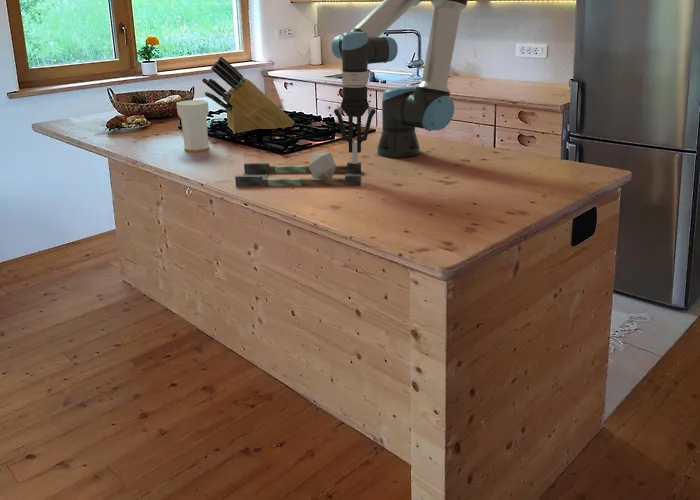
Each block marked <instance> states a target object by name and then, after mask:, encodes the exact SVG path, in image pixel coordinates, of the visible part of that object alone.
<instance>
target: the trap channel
mask: <svg viewBox="0 0 700 500" xmlns="http://www.w3.org/2000/svg"><path fill="white" fill-rule="evenodd" d="M243 167H244V168H243V169H244V171H243V172H244V173H243V174H242V175H235V176H234V181H235V187H360V186H361V179H362V162H361V161H360V162H358V161H357V164H352V161H349V162H347V163H346V164H345V165H341V164H339V165H336V168H335V171H334V173H333V174H335V173H336V174H337V173H340V174H341V173H343V174H345V173H346V174H345V175H344V177H342V178H341V177H339V178H338V177H337V178H335V177H332V178H313V177H311V178H310V177H309V178H308V177H307V178H297V177H296V178H294V177H293V178H292V177H290V178H289V177H288V178H282V177H281V178H280V177H279V178H268V176H269V174H296V173H297V174H303V173H304V174H306V173H307V174H310V173H311V171H310V168H309V166H308V165H270V162H244V163H243ZM311 174H312V173H311Z"/></svg>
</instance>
